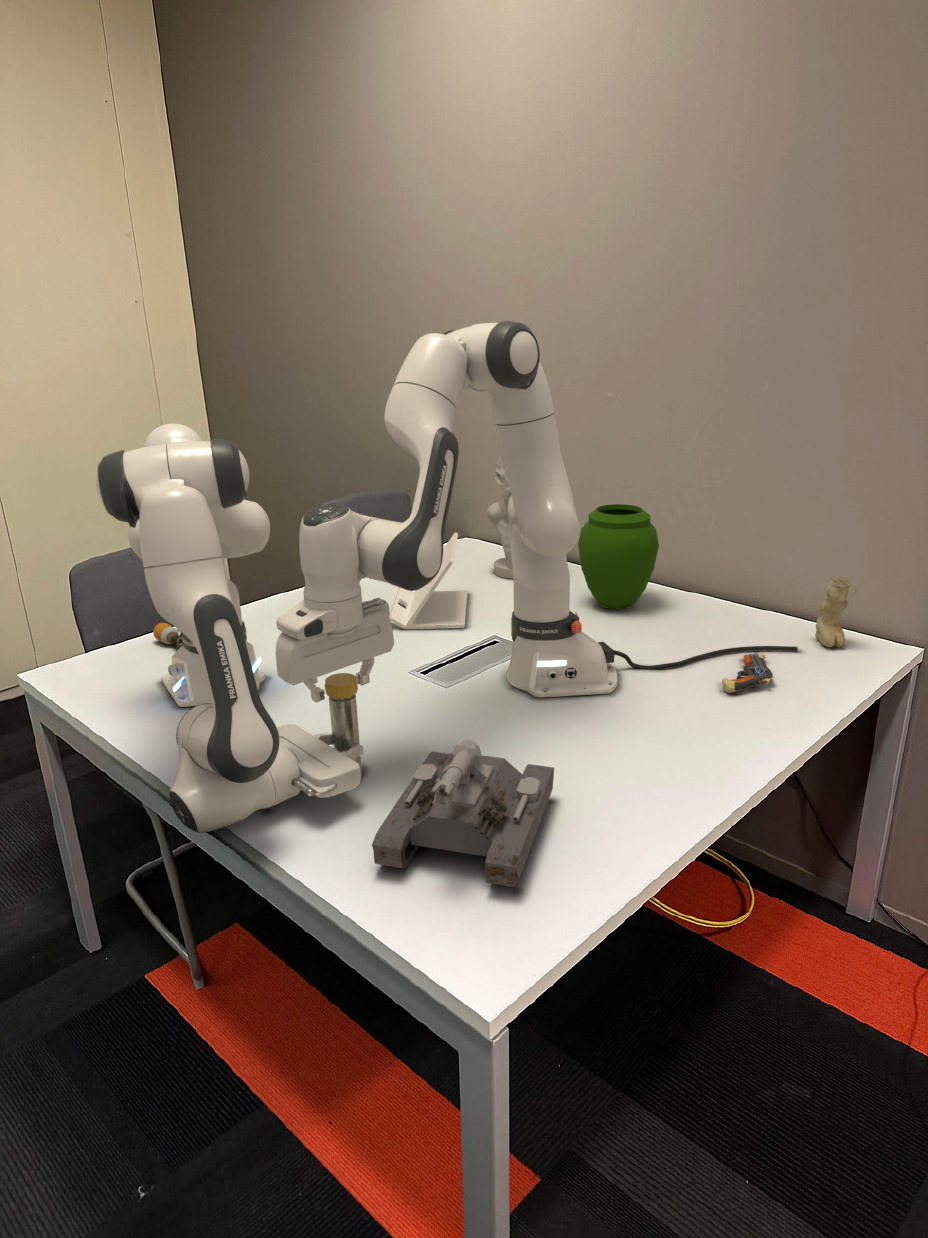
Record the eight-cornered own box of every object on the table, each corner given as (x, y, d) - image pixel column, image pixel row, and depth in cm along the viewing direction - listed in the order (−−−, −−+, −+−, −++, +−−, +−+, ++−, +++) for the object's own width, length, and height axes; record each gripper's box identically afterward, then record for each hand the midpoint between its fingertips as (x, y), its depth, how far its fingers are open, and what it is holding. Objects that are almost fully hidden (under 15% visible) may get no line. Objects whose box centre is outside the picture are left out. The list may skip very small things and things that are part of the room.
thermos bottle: (366, 773, 142) (359, 686, 136) (343, 781, 139) (335, 693, 134) (354, 762, 145) (347, 677, 139) (331, 770, 143) (323, 684, 137)
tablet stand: (467, 593, 225) (465, 531, 219) (465, 628, 202) (462, 559, 196) (399, 594, 226) (395, 532, 220) (388, 629, 203) (384, 560, 197)
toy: (433, 778, 139) (429, 695, 134) (554, 794, 134) (555, 708, 128) (373, 873, 117) (366, 778, 111) (516, 898, 111) (515, 799, 106)
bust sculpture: (503, 593, 225) (502, 460, 212) (483, 567, 247) (480, 445, 234) (562, 587, 228) (563, 456, 215) (536, 562, 250) (536, 441, 237)
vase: (599, 587, 227) (601, 497, 218) (668, 600, 216) (673, 505, 208) (562, 608, 212) (564, 513, 204) (634, 623, 202) (639, 523, 193)
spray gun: (191, 623, 212) (240, 633, 206) (141, 643, 198) (191, 654, 192) (190, 607, 211) (239, 616, 205) (139, 626, 196) (190, 637, 190)
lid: (358, 697, 135) (357, 684, 134) (325, 700, 134) (324, 687, 133) (357, 683, 140) (356, 671, 139) (325, 686, 139) (324, 674, 138)
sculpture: (821, 649, 184) (830, 583, 179) (808, 637, 191) (816, 573, 185) (848, 649, 184) (858, 582, 179) (834, 636, 191) (843, 572, 185)
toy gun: (724, 683, 164) (779, 680, 162) (715, 651, 182) (764, 648, 180) (725, 696, 165) (779, 693, 163) (715, 663, 183) (764, 660, 180)
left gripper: (311, 780, 124) (387, 746, 132) (243, 732, 138) (315, 705, 147) (315, 817, 126) (390, 782, 135) (247, 767, 140) (318, 738, 149)
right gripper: (376, 590, 141) (381, 667, 146) (266, 622, 128) (276, 705, 133) (399, 599, 136) (404, 678, 141) (288, 633, 124) (297, 718, 129)
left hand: (350, 741), depth 141 cm, fingers closed on thermos bottle, 4 cm apart
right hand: (341, 691), depth 137 cm, fingers open, 7 cm apart
